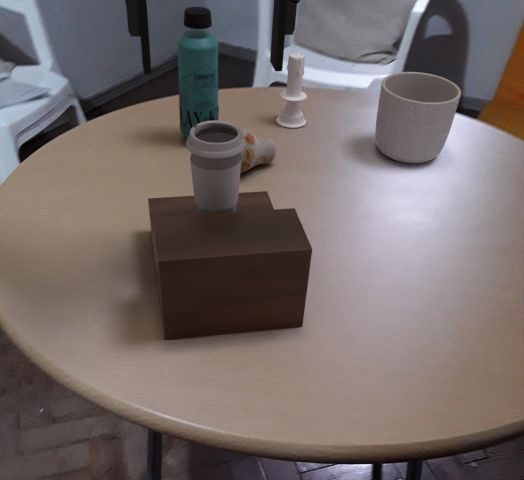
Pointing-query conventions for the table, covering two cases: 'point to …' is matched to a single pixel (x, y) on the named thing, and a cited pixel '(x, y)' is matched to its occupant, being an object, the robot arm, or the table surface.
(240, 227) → the step shelf
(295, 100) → the candle
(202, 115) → the beverage bottle
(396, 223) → the table surface
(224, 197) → the cup
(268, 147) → the floral vase
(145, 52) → the robot arm
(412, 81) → the planter
